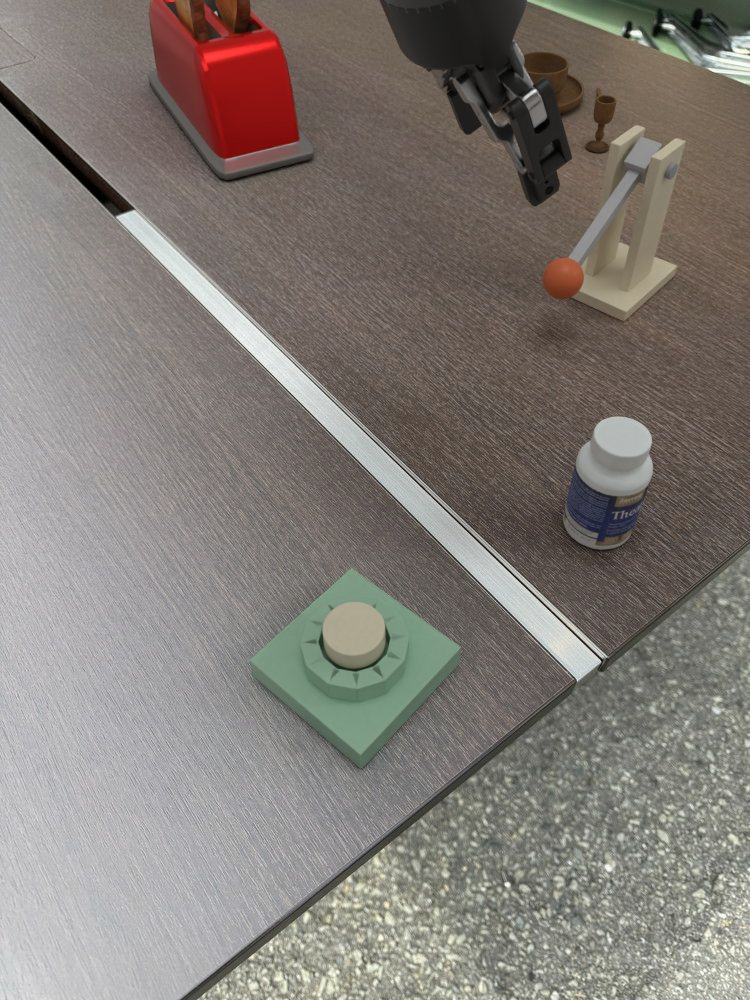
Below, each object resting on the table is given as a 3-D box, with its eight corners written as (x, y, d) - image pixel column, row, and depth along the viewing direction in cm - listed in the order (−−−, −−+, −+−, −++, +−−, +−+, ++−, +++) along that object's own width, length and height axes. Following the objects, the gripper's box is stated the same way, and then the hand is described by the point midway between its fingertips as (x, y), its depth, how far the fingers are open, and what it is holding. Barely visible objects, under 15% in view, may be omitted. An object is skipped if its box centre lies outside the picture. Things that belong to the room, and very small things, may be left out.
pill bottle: (607, 564, 63) (636, 476, 55) (548, 526, 65) (568, 438, 58) (645, 522, 65) (678, 433, 58) (587, 487, 68) (610, 398, 60)
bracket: (623, 322, 82) (660, 178, 70) (554, 290, 85) (578, 148, 74) (674, 275, 86) (716, 134, 75) (606, 247, 90) (637, 108, 79)
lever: (571, 312, 76) (566, 292, 73) (538, 296, 78) (531, 276, 75) (671, 167, 77) (669, 141, 73) (636, 154, 78) (633, 129, 75)
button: (398, 639, 55) (398, 625, 53) (356, 681, 53) (355, 667, 51) (352, 605, 56) (351, 590, 55) (311, 644, 55) (309, 630, 53)
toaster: (145, 81, 118) (111, -75, 104) (231, 63, 122) (210, -91, 108) (221, 185, 100) (192, 11, 85) (319, 159, 103) (308, -11, 89)
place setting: (601, 82, 116) (610, 36, 111) (614, 153, 103) (624, 105, 98) (474, 79, 117) (477, 33, 113) (470, 149, 104) (474, 101, 100)
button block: (459, 663, 58) (463, 632, 55) (361, 770, 53) (359, 742, 50) (352, 584, 62) (350, 552, 59) (252, 676, 57) (245, 645, 54)
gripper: (579, -41, 39) (618, 185, 53) (429, -159, 46) (499, 69, 60) (447, 62, 40) (520, 257, 54) (318, -68, 47) (413, 136, 61)
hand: (509, 158), depth 57 cm, fingers open, 8 cm apart
